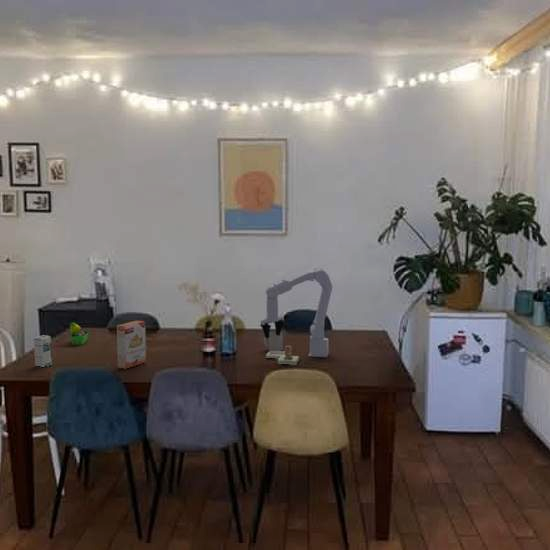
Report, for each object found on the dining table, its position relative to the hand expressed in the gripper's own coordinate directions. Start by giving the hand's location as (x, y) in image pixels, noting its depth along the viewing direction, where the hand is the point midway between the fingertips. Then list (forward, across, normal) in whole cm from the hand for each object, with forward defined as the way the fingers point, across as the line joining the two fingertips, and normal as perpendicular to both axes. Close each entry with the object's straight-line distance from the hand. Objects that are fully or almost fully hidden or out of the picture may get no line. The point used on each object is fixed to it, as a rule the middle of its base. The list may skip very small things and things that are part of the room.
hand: (272, 336), depth 346 cm
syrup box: (+10, +90, -66) cm, 112 cm away
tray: (+10, -1, +3) cm, 10 cm away
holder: (+10, +3, +14) cm, 17 cm away
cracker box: (+10, +60, -36) cm, 70 cm away
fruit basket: (+10, +55, -96) cm, 111 cm away
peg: (+10, +3, +14) cm, 17 cm away
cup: (+10, -9, -9) cm, 16 cm away
